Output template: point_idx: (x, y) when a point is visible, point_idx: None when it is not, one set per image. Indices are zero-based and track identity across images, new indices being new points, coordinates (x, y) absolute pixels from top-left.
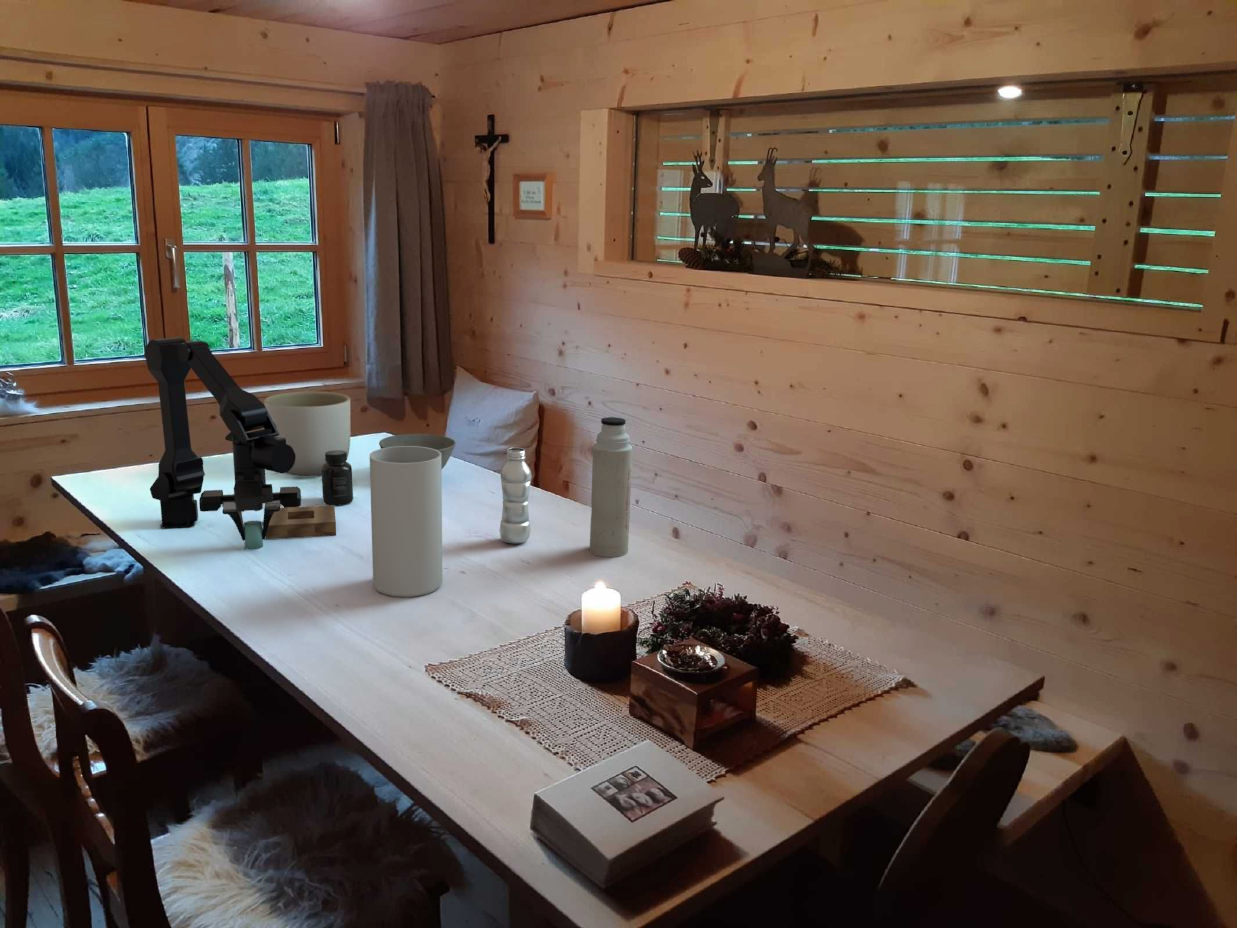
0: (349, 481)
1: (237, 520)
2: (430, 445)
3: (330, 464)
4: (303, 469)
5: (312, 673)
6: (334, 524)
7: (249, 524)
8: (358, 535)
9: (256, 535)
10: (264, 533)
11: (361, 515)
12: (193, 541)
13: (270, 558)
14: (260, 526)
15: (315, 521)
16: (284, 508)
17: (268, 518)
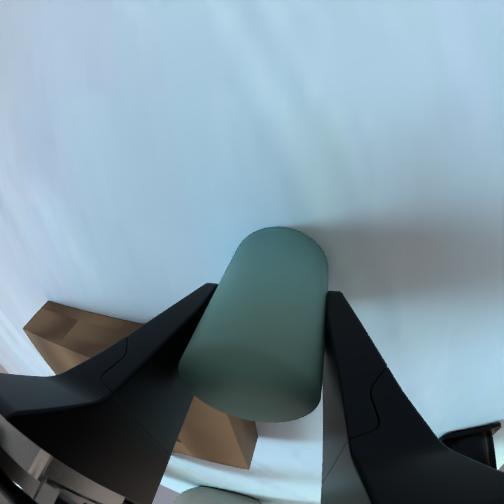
0: None
1: (381, 419)
2: None
3: (124, 502)
4: (225, 501)
5: None
6: (29, 323)
7: (271, 378)
8: (15, 283)
9: (235, 281)
10: (189, 302)
11: None
12: (493, 361)
13: (159, 62)
14: (189, 344)
15: (63, 355)
16: (201, 456)
17: (89, 369)
